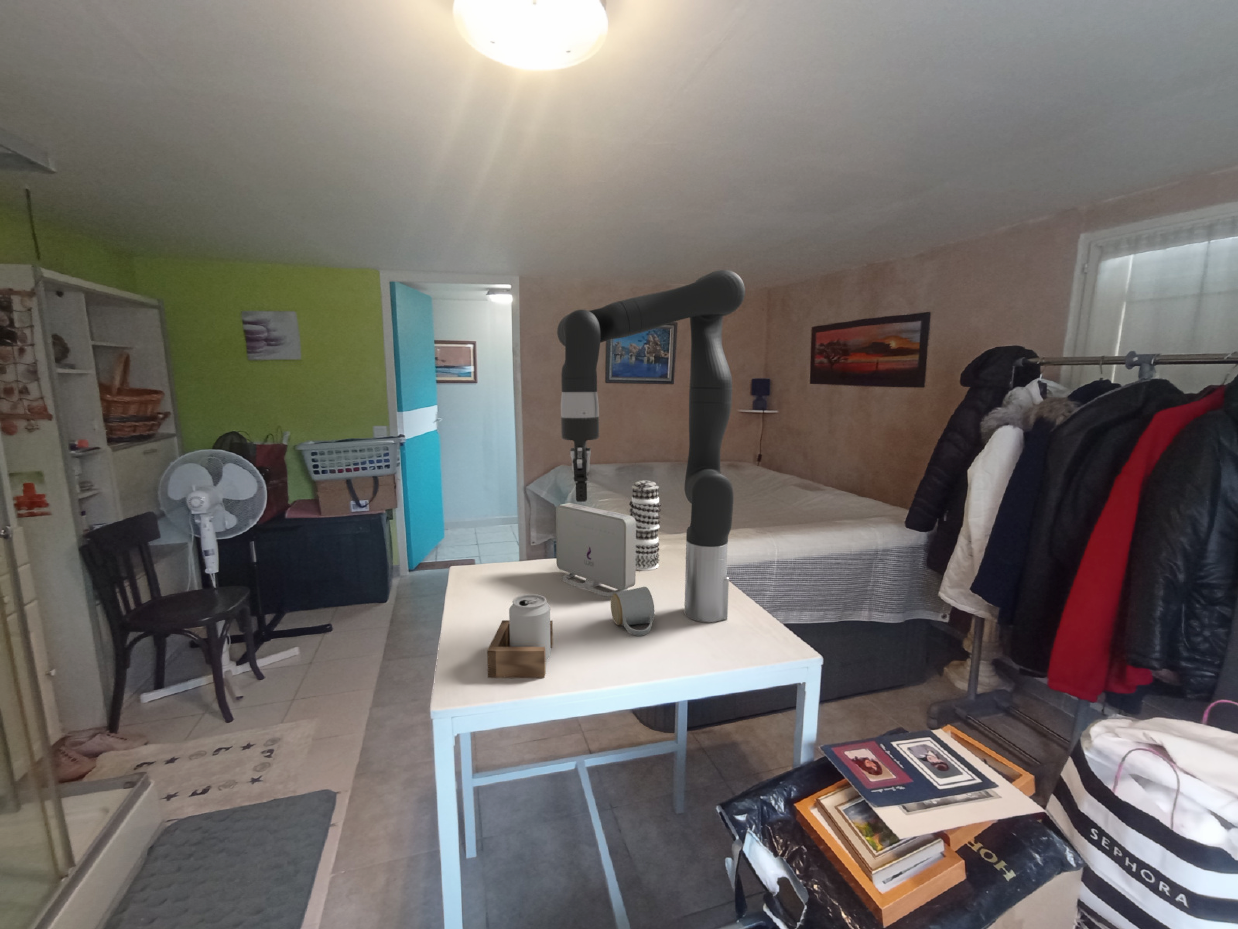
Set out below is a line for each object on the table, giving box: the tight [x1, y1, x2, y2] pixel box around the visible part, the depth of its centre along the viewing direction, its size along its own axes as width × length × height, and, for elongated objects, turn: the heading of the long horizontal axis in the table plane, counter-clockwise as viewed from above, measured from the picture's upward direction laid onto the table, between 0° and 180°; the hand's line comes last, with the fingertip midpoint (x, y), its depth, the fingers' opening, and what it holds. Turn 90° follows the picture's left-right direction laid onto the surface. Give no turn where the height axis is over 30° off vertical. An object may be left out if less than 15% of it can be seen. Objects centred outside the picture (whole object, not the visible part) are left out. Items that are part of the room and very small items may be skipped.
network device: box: [555, 502, 637, 597], centre depth 137 cm, size 26×9×20 cm, turn 48°
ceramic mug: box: [610, 586, 656, 637], centre depth 113 cm, size 11×8×8 cm
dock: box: [486, 619, 554, 679], centre depth 98 cm, size 10×12×5 cm
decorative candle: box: [629, 479, 662, 572], centre depth 152 cm, size 9×9×25 cm
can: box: [508, 593, 551, 663], centre depth 98 cm, size 8×8×12 cm
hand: (581, 500), depth 106 cm, fingers closed
